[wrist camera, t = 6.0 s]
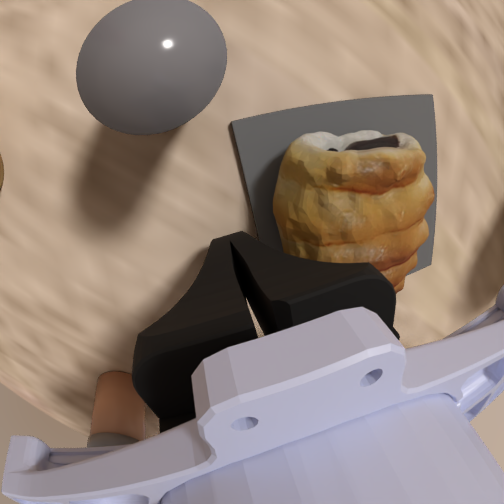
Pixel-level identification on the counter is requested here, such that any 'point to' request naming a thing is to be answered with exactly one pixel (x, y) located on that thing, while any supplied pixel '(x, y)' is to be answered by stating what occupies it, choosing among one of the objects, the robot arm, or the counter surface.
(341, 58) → the counter surface
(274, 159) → the slate mat
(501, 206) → the counter surface
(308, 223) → the pastry
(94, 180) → the counter surface
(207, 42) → the jar slate blue
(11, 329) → the counter surface
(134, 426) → the jar terracotta
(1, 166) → the jar mustard
